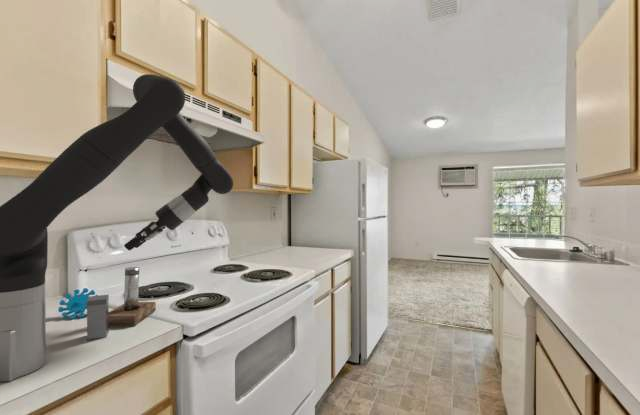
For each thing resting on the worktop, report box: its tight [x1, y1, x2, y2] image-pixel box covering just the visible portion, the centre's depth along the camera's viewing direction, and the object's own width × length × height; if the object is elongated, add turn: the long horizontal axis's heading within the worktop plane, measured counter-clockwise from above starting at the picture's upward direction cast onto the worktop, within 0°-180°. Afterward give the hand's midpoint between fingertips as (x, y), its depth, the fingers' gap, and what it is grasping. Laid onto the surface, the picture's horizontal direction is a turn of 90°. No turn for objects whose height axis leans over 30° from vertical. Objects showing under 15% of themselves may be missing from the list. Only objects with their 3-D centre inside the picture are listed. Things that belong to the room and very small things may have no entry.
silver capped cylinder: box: [123, 266, 140, 311], centre depth 92 cm, size 4×4×14 cm
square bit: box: [86, 294, 110, 341], centre depth 80 cm, size 4×4×10 cm
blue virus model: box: [57, 287, 99, 320], centre depth 96 cm, size 11×6×10 cm
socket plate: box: [109, 301, 157, 328], centre depth 92 cm, size 12×9×3 cm
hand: (130, 246), depth 92 cm, fingers open, 8 cm apart
